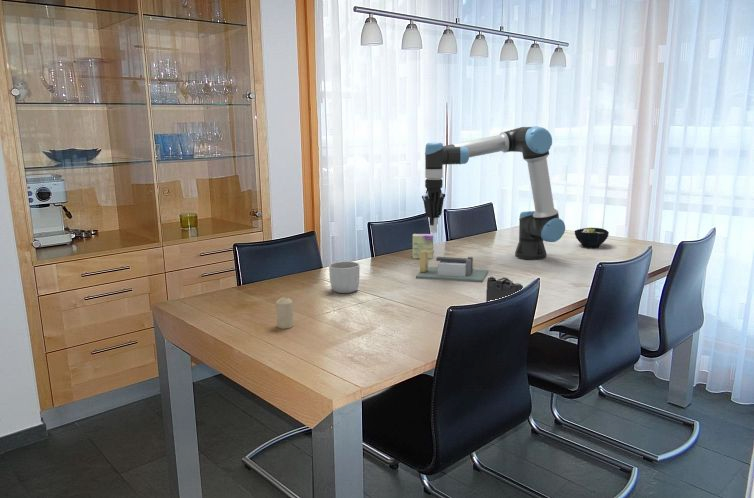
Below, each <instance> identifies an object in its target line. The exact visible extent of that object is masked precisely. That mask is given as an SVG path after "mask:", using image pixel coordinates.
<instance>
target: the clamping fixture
mask: <svg viewBox="0 0 754 498" xmlns="http://www.w3.org/2000/svg"><path fill="white" fill-rule="evenodd" d="M467 258H471V259H472V261H471V260H470V259H466V263H465V262H449V261H438V263H437V267H436V266H428V270H427V271H426V272H420V271H419V272H418V273H417V274H416V275H415V279H423V280H437V281H438V280H440V281H441V280H442V281H457V282H468V283H469V282H470V283H471V282H473V283H474V282H475V283H483V282H484V280H485V278H486V276H487V275H488V273H489V269H475V268H474V257H473V256H467Z"/></svg>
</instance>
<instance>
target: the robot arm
mask: <svg viewBox="0 0 754 498" xmlns="http://www.w3.org/2000/svg"><path fill="white" fill-rule="evenodd" d="M552 145H553V137H552V135H551V133H550V131H549V130H548V129H546V127H542V126H541V127H540V126H521V127H520V126H519V127H517V128H513V129H510V130H506V131H502V132H500V133H499V134H498V135H497V134H496V135H493V136H488V137H482V138H478V139H473V140H466V141H462V142H456V143H452V144H447V145H444V144H443V143H442V142H427V143H426V144H425V147H424V148H425V149H424V150H425V151H424V155H425V156H424V157H425V158H424V160H425V161H424V162H425V165H424V166H425V167H424V168H425V169H424V170H425V171H424V173H425V174H424V176H425V177H424V178H425V180H424V182H425V183H424V187H425V189H426V190H425V191H426V192H425V194H424V195H422V196H421V199H422V201H423V207H424V212H425V217H427V218H429V233H431V234H435V233H436V234H437V233H438V224H439V222H438V220H439V219H438V218H440V217H441V215H442V212H443V207H444V206H443V205H444V201H445V200H444V199H445V197H446V194H445V193H443V192H442V188H443V186H444V184H443V177H444V176H443V173H444V171H443V170H444V169H443V166H445V165H465V164H467V163H468V162H469V160H470V158H475V157H479V156H484V155H490V154H493V153H498V152H502V153H504V154H506V153H513V152H514V153H516V152H517V153H522V160H524V161H525V162H526V163H527V169H528V174H529V180H530V187H531V192H532V198H533V199H532V201H533V205H534V210H528V211H521V212H520V214H519V223H518V225H519V226H518V227H519V228H518V243H517V246H516V248H515V251H514V257H515V258H517V259H520V260H529V261H533V260H534V261H537V260H544V259H546V258H547V251H546V248H545V244H544V242H546V243H547V242H548V243H556V242H558V241H559V240H561V239H562V237H563V235H564V234H565V230H566V225H565V222H564V220H562V219H561V218H560V216H559V211H558V209H556V208H555V204H554V199H553V193H552V187H551V186H552V185H551V179H550V173H549V167H548V166H549V165H548V159H547V158H548V157H549V155H550V151H549V150H550V149H551V147H552Z"/></svg>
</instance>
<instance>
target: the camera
mask: <svg viewBox="0 0 754 498" xmlns="http://www.w3.org/2000/svg"><path fill="white" fill-rule="evenodd" d="M522 288H523V289H524V285H522V283H518V282H515V283H514V281H513V280H511V279H509V278H508V277H502V278H496V277H494V276H489V277H487V280H486V290H485V291H486V292H485V293H486V295H485V296H486V298H485V299H486V302H487V301H490V300H495V299H499V298H502V297H505V296H508V295H511V294H513V293H515V292H517V291H519V290H521V289H522Z"/></svg>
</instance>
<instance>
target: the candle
mask: <svg viewBox="0 0 754 498" xmlns="http://www.w3.org/2000/svg"><path fill="white" fill-rule="evenodd" d="M275 308H276V310H275V311H276V312H275V313H276V327H277V328H278V329H291V328H292V327H294V325H295V324H294V309H293V308H294V307H293V300H292V299H291V298H290V297H287V296H282V297H280V298H279V299H277V300H276V302H275Z"/></svg>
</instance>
